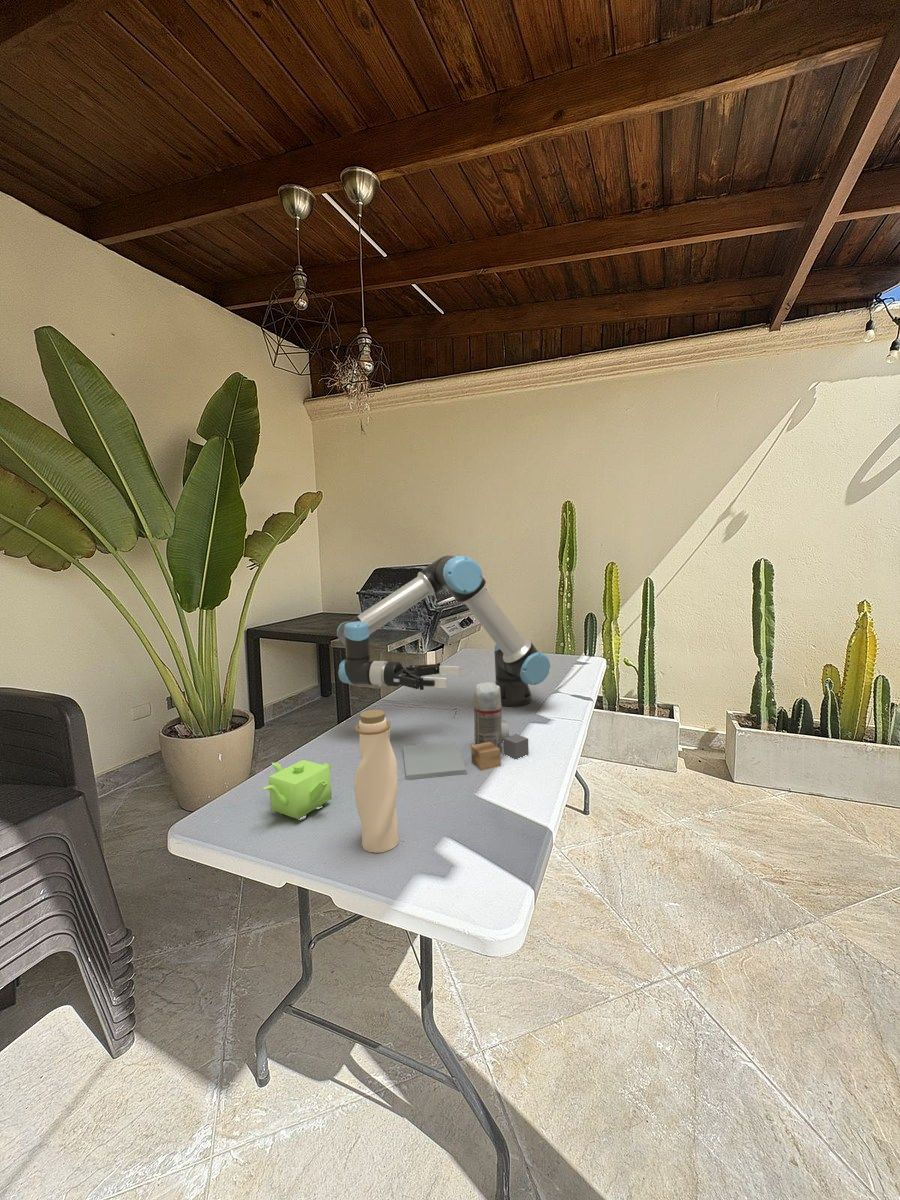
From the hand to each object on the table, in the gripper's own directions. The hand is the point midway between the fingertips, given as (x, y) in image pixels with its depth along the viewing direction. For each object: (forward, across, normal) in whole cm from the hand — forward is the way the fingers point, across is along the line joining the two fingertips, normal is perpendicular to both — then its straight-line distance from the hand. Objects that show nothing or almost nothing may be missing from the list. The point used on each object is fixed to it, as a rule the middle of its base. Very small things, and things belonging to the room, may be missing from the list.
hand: (453, 676), depth 157 cm
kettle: (-26, +43, -22) cm, 55 cm away
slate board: (-4, +10, -22) cm, 25 cm away
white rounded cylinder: (+11, -10, -22) cm, 26 cm away
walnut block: (+12, +9, -22) cm, 26 cm away
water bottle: (-2, +50, -22) cm, 55 cm away
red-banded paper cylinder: (+10, 0, -22) cm, 24 cm away
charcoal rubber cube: (+18, +1, -22) cm, 29 cm away
